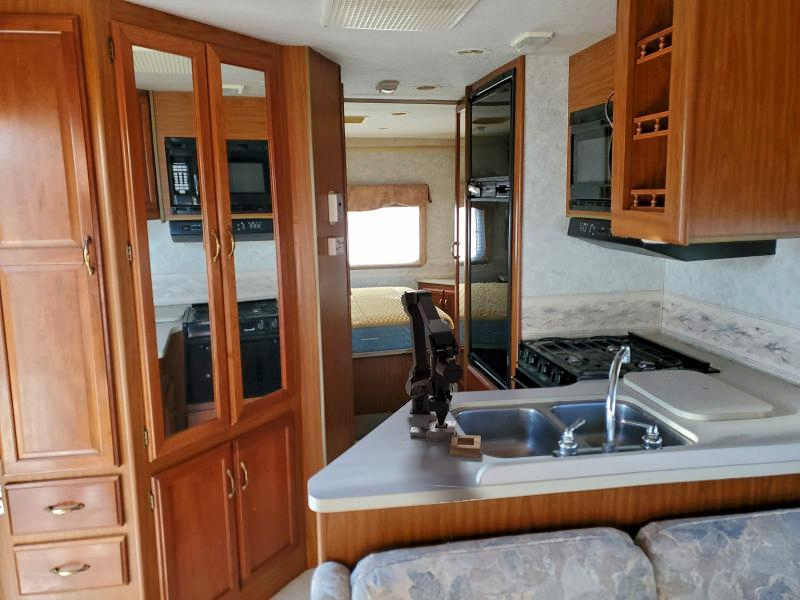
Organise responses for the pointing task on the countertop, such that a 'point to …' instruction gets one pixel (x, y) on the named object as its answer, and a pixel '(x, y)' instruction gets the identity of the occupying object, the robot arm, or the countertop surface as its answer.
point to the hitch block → (435, 431)
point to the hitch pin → (442, 426)
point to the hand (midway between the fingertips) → (441, 423)
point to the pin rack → (465, 445)
